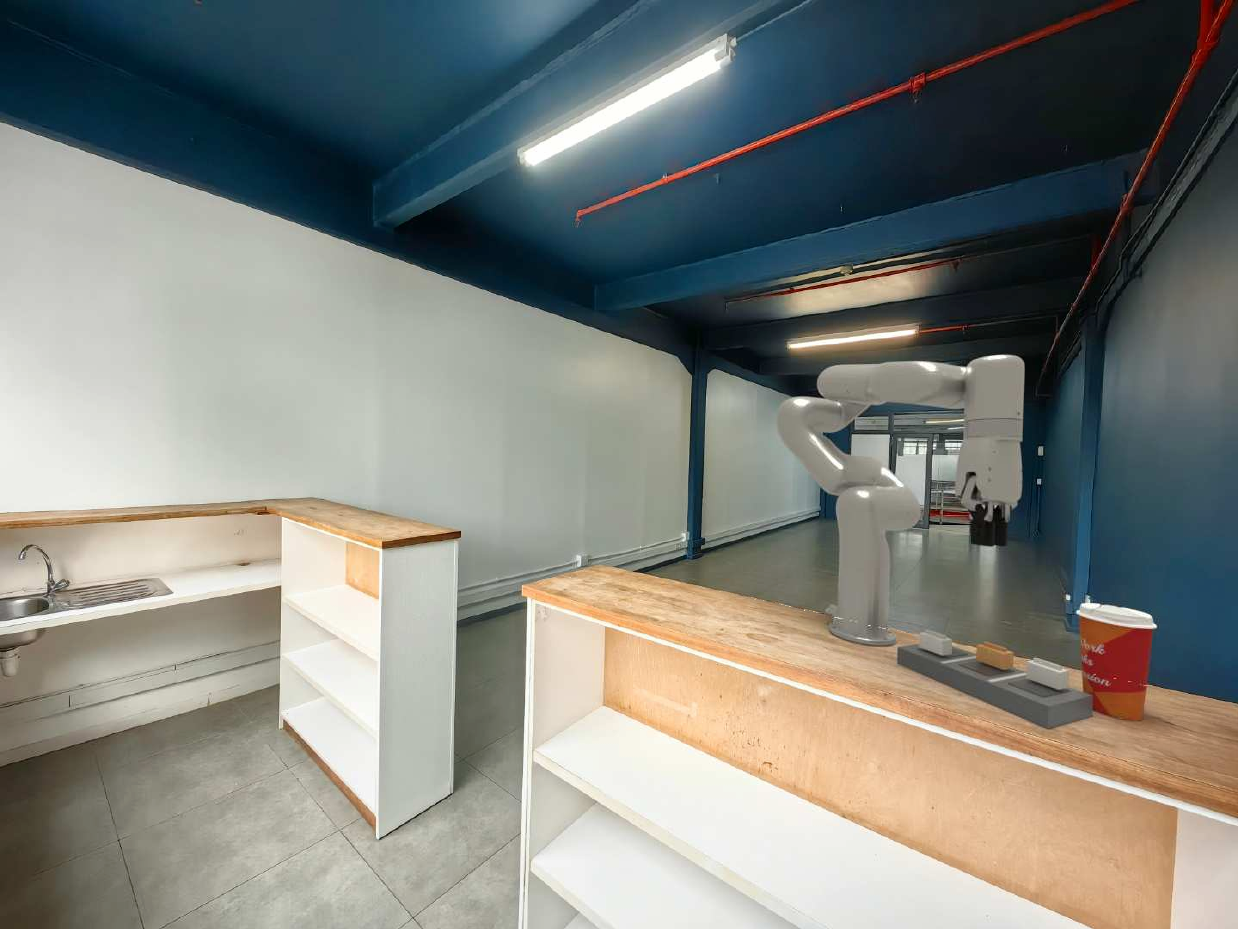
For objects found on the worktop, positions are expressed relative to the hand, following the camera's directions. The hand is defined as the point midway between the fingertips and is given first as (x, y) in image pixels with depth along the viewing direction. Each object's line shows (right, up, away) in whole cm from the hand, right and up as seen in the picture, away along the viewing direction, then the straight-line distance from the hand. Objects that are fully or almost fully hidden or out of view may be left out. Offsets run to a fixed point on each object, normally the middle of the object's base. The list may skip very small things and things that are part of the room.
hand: (988, 544), depth 75 cm
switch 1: (-5, -20, +6) cm, 21 cm away
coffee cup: (+13, -24, -7) cm, 28 cm away
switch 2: (+1, -20, +1) cm, 20 cm away
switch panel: (-1, -23, 0) cm, 23 cm away
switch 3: (+4, -20, -6) cm, 21 cm away
